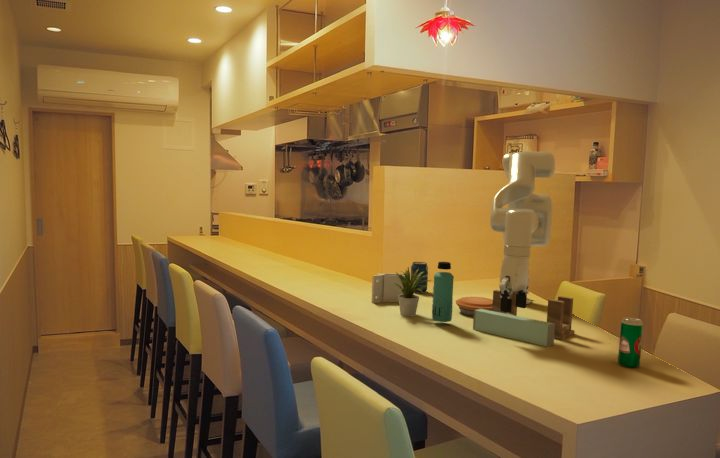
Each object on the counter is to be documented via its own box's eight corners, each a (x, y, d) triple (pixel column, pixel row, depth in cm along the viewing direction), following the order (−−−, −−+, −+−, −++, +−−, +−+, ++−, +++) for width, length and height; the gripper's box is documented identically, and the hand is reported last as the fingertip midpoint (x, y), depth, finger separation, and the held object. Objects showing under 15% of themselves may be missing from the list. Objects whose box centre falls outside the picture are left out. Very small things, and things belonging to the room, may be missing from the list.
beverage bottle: (453, 322, 177) (456, 261, 176) (449, 327, 171) (453, 264, 169) (433, 320, 179) (436, 259, 178) (429, 325, 173) (432, 262, 171)
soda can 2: (613, 362, 143) (617, 316, 142) (632, 362, 143) (635, 316, 142) (624, 368, 138) (628, 321, 137) (643, 368, 138) (647, 321, 137)
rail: (478, 327, 173) (479, 308, 172) (553, 344, 157) (555, 323, 157) (472, 329, 170) (474, 310, 170) (548, 346, 155) (550, 325, 154)
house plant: (416, 323, 175) (419, 272, 174) (379, 316, 183) (381, 267, 181) (435, 314, 187) (437, 267, 186) (399, 308, 195) (401, 262, 193)
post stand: (502, 318, 185) (504, 286, 184) (574, 333, 169) (576, 298, 169) (488, 323, 178) (490, 290, 177) (561, 339, 162) (564, 303, 161)
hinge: (372, 303, 202) (373, 275, 201) (367, 300, 207) (368, 273, 206) (407, 302, 206) (408, 275, 205) (402, 298, 211) (403, 273, 210)
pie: (501, 320, 183) (502, 305, 183) (454, 316, 186) (455, 302, 186) (499, 310, 198) (500, 296, 198) (455, 306, 202) (456, 293, 201)
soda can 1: (429, 291, 227) (431, 262, 226) (422, 294, 221) (423, 264, 220) (414, 289, 231) (416, 261, 230) (407, 291, 225) (408, 262, 224)
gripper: (517, 249, 170) (514, 303, 172) (491, 252, 157) (487, 311, 159) (541, 251, 165) (537, 308, 167) (515, 255, 152) (512, 316, 154)
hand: (513, 309), depth 163 cm, fingers open, 9 cm apart
